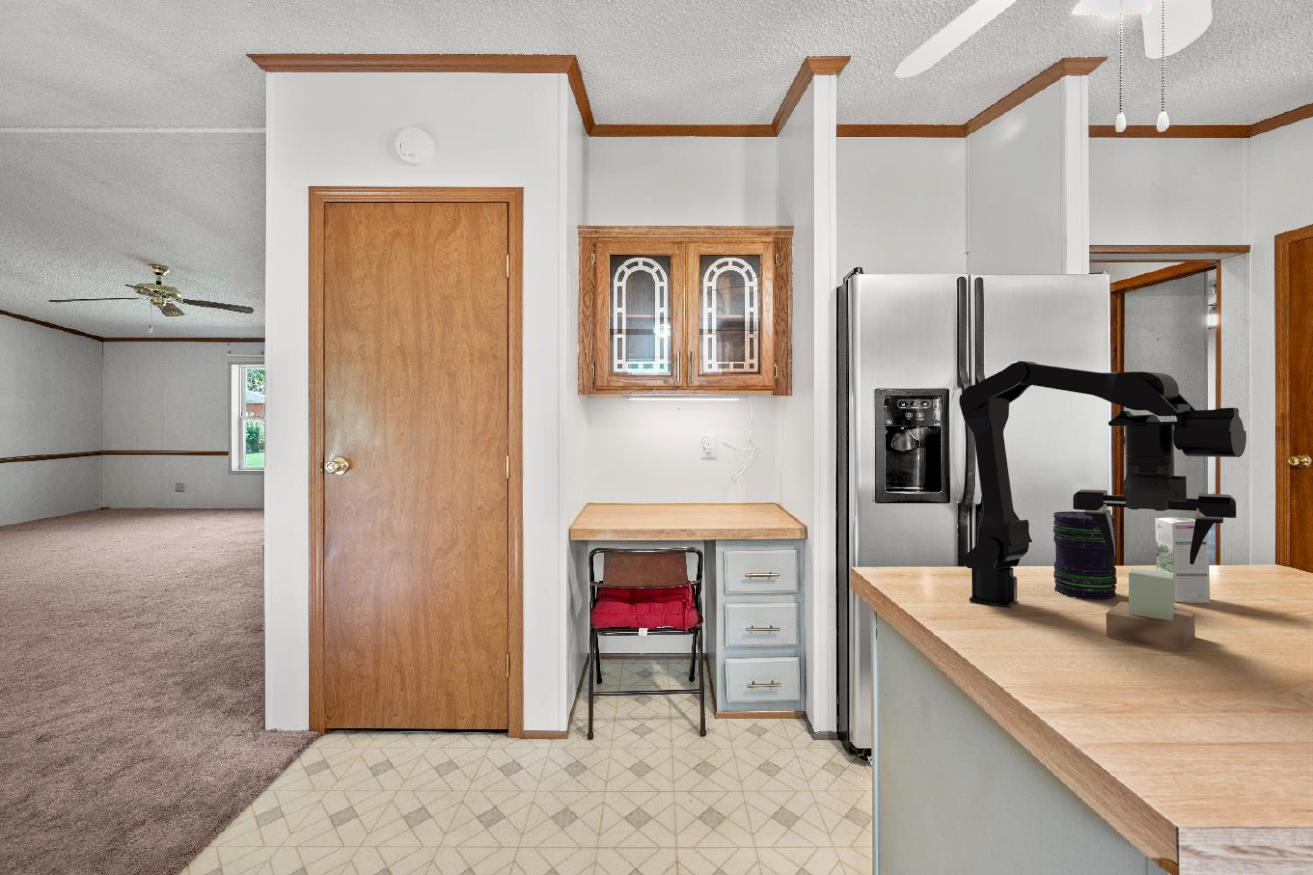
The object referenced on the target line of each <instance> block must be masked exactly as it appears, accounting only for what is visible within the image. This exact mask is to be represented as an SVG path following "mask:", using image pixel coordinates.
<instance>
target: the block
mask: <svg viewBox="0 0 1313 875" xmlns="http://www.w3.org/2000/svg"><path fill="white" fill-rule="evenodd" d="M1174 612H1175V613H1174V617H1173V621H1171V620H1164V619H1157V618H1151V617H1144V616H1137V615H1130V614H1129V601H1128V602H1126V601H1119V602H1118V603H1117V604H1116V605H1115V606H1114V607H1112V608H1111V609H1110V610H1108V611H1106V613H1105V616H1106V617H1105V622H1106V623H1105V625H1106V626H1105V627H1106V638H1109V639H1115V640H1120V641H1125V642H1130V643H1136V644H1140V645H1141V644H1142V645H1147V646H1152V647H1157V648H1161V649H1166V650H1172V651H1177V652H1181V653H1185V651H1186V650H1187V649H1186V648H1189V646H1190V645H1191V643H1192V642H1193V640H1194V639H1195V637H1196V626H1195V625H1196V622H1195V621H1196V618H1195V617H1196V615H1195V614H1196V613H1195V612H1192V611H1191V612H1190V611H1184V610H1178V609H1174Z"/></svg>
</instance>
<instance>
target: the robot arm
mask: <svg viewBox="0 0 1313 875" xmlns="http://www.w3.org/2000/svg"><path fill="white" fill-rule="evenodd" d="M1031 386H1034V387H1035V386H1036V387H1041V388H1048V389H1053V390H1060V391H1066V392H1070V393H1071V392H1072V393H1078V394H1082V395H1083V394H1084V395H1090V396H1094V397H1097V398H1100V399H1102V400H1105V401H1106V402H1109V403H1112V404H1115V405H1118V406H1120V407H1124V408H1126V409H1128V410H1120V411H1119V413H1118V414H1117V415H1116V416H1115V417H1114V418H1113V419H1111V420H1109V421H1108V422H1107V425H1108V426H1110V427H1124V437H1125V438H1124V439H1125V440H1124V443H1125V449H1124V451H1125V477H1124V480H1123V495H1117V494H1116V495H1115V494H1109V493H1108V490H1106V489H1104V490H1103V489H1086V488H1085V489H1080V490H1078V491H1076V492H1075V493H1074V494H1073V496H1072V509H1073V510H1076V511H1077V510H1078V511H1082V512H1083V513H1084V515H1085V516H1091V517H1092V518H1093V519H1094V521H1095V522H1096V524H1097V525H1098V527H1099V529H1100V531H1101V533H1102V535H1103V538H1104V540H1105V542H1106V545H1107V547H1108V550H1109V552H1110V555H1111V557H1114V558H1115V557H1116V546H1115V540H1114V533H1113V526H1112V519H1111V515H1112V514H1111V513H1112V512H1111V511H1112V510H1111V509H1108V508H1109V507H1110V508H1126V509H1129V510H1135V511H1137V510H1154V511H1156V512H1164V511H1169V510H1173V511H1187V512H1188V511H1192V512H1193V511H1194V512H1196V514H1195V518H1194V520H1195V525H1194V531H1193V537H1192V543H1191V549H1190V564H1191V565H1193V564H1194V562H1195V560H1196V557H1197V555H1198V552H1199V550H1200V547H1201V545H1202V542H1203V540H1204V538H1205V536H1206V535H1207V533H1208V534H1209V531H1210V530H1211V528H1212V527H1213V525H1215V524H1224V518H1227V519H1236V518H1237V500H1236V498H1235V497H1233V496H1232V495H1230V494H1227V493H1225V494H1224V493H1223V494H1221V493H1220V494H1219V493H1198V494H1197V498H1192V497H1187V492H1188V490H1187V488H1188V487H1187V476H1186V475H1185V476H1184V475H1175V449H1177V451H1182V453H1183V454H1184V455H1185V456H1186V457H1195V458H1196V457H1204V458H1206V457H1207V458H1211V457H1212V458H1218V457H1219V458H1241V457H1242V456H1243V454H1244V453H1245V450H1246V445H1247V431H1246V430H1245V429H1244V424H1243V421H1242V418H1241V417H1240V410H1239V408H1238V407H1219V408H1214V409H1201V410H1200V409H1199V410H1198V409H1196V408H1195V407H1194V406H1193V405H1191V403H1190V402H1189V401H1187V399H1185V397H1184V396H1183V395H1182V394H1181V393H1179V392H1180V388H1179V384H1178V382H1176V380H1175V378H1174V377H1173V376H1171V375H1170V374H1167V373H1163V372H1152V371H1116V372H1115V371H1113V372H1100V371H1099V372H1098V371H1093V370H1092V371H1090V370H1084V369H1078V368H1077V369H1076V368H1069V367H1062V366H1061V367H1060V366H1053V365H1047V364H1039V363H1036V362H1034V361H1025V360H1017V361H1014V362H1012V363H1011V364H1010V365H1008V366H1007V367H1005V368H1003V369H1002V370H1000V371H998V372H996V373H995V374H992V375H990V376H988V377H987V378H984V379H983V380H981V381H979V383H977V384H971V385H969V386H967V387H966V388H964V390H962V392H961V393H960V394H959V399H958V402H959V408H960V411H961V415H962V417H963V418H962V419H963V421H964V422H965V423H966V425H967V427H968V428H969V430H970V431H971V433H972V434H973V441H974V447H975V455H976V464H977V469H978V470H977V471H978V477H979V485H980V486H979V487H980V494H981V502H982V508H983V509H982V511H983V513H982V516H981V519H980V522H979V523H978V524H979V525H978V527H977V542H976V543H977V544H976V545H975V546H974V547H973V548H972V549H970V551H968V552H967V553H966V554H964V556H963V559H964V562H965V565H966V568H967V569H971V596H970V597H968V600H969V602H974V603H981V604H985V605H986V604H987V605H994V606H1001V607H1006V608H1009V607H1010V606H1011V605H1012V604H1014V603H1015V601H1017V599H1018V577H1017V576H1016V575H1014V567H1018V565H1019V564H1020V561H1021V558H1022V557H1024V556H1025V555H1026V554H1027V553H1028V552H1029V549H1030V544H1031V543H1033V540H1032V538H1031V534H1030V523H1029V520H1028V519H1022V520H1021V519H1020V518H1019V516H1018V515H1017V513H1016V511H1015V509H1014V503H1013V496H1012V489H1011V480H1010V474H1009V465H1008V459H1007V450H1006V442H1005V436H1004V433H1005V432H1004V431H1005V428H1006V424H1007V422H1008V419H1009V416H1010V404H1011V403H1013V401H1016V400H1017V399H1018V398H1019V397H1021V396H1022V395H1023V394H1024V393H1025V391H1027V390H1028V389H1029V387H1031ZM1129 409H1130V410H1133V411H1148V412H1149V413H1151V414H1135V415H1134V414H1132V412H1130V410H1129ZM1159 417H1176V421H1175V420H1174V421H1160V418H1159Z"/></svg>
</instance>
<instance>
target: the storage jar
mask: <svg viewBox="0 0 1313 875" xmlns="http://www.w3.org/2000/svg"><path fill="white" fill-rule="evenodd" d="M1083 512H1084V511H1069V510H1068V511H1057V512H1053V519H1054V520H1053V527H1052V528H1053V529H1052V530H1053V531H1052V532H1053V537H1052V538H1053V542H1054V543H1055V561H1054V563H1053V567H1054V568H1053V570H1054V571H1053V578H1054V584H1055V586H1054V592H1055V591H1057V592H1059V593H1061V594H1063V595H1062V596H1064V595H1066V596H1065V597H1068V598H1072V597H1076V598H1075V599H1078V598H1082V599H1081V600H1085V599H1087V600H1088V601H1111V600H1115V599H1116V598H1117V593H1116V590H1117V586H1116V585H1117V582H1118V580H1117V568H1116V566H1115V557H1111V555H1110V552H1109V550H1108V547H1107V545H1106V542H1105V540H1104V538H1103V535H1102V533H1101V531H1100V529H1099V527H1098V525H1097V524H1096V522H1095V521H1094V519H1093V518H1092V517H1091V516H1085V515H1084V513H1083ZM1111 519H1112V526H1113V533H1114V540H1115V547H1116V544H1117V541H1116V537H1117V530H1116V523H1115V522H1116V515H1113V514H1111ZM1061 594H1060V595H1061Z"/></svg>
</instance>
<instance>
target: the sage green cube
mask: <svg viewBox="0 0 1313 875" xmlns="http://www.w3.org/2000/svg"><path fill="white" fill-rule="evenodd" d="M1128 603H1129V614H1130V615H1137V616H1144V617H1151V618H1157V619H1164V620H1171V621H1173V617H1174V613H1175V612H1174V610H1175V601H1174V573H1171V572H1161V571H1156V570H1150V569H1142V568H1141V569H1140V568H1134V567H1133V568H1131V570H1130V571H1129V572H1128Z"/></svg>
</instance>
